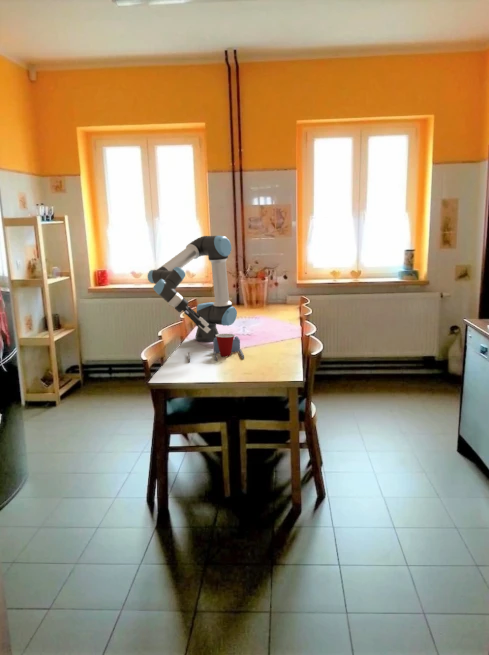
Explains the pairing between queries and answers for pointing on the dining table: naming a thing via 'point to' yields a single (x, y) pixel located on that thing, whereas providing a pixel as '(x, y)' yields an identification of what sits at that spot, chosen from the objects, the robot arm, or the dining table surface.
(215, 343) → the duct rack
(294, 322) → the dining table surface
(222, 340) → the plastic cup
